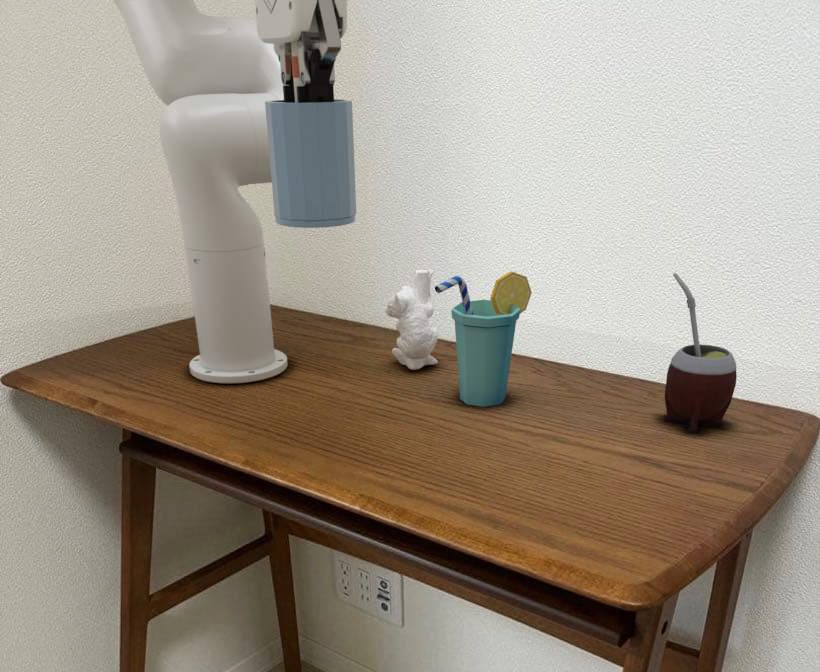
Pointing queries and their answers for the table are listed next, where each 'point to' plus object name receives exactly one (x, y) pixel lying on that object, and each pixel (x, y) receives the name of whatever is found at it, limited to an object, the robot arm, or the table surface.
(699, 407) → the mate gourd
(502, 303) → the cup
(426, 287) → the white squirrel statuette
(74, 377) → the table surface
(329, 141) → the tumbler
